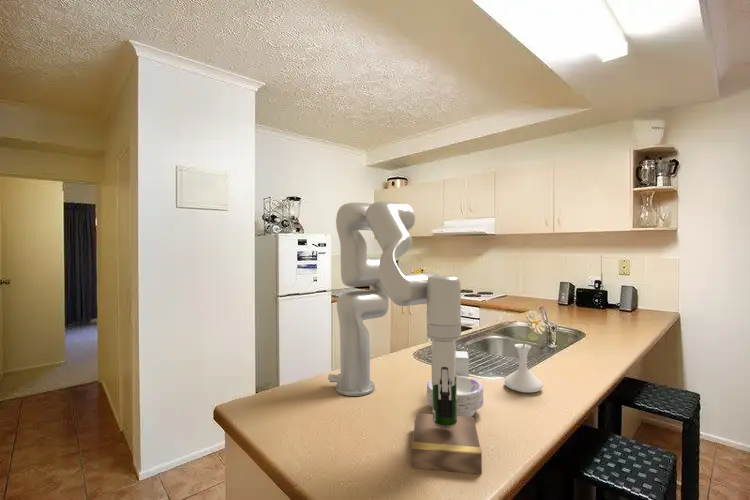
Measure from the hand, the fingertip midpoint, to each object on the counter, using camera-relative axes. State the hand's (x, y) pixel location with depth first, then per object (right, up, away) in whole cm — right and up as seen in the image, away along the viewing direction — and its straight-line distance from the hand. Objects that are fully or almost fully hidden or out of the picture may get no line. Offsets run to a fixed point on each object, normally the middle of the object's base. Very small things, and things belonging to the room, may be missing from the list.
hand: (444, 409), depth 81 cm
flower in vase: (+32, -8, +34) cm, 48 cm away
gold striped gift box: (0, -9, 0) cm, 9 cm away
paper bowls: (+6, -9, +18) cm, 21 cm away
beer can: (0, -3, 0) cm, 3 cm away
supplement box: (+9, -9, +30) cm, 33 cm away
